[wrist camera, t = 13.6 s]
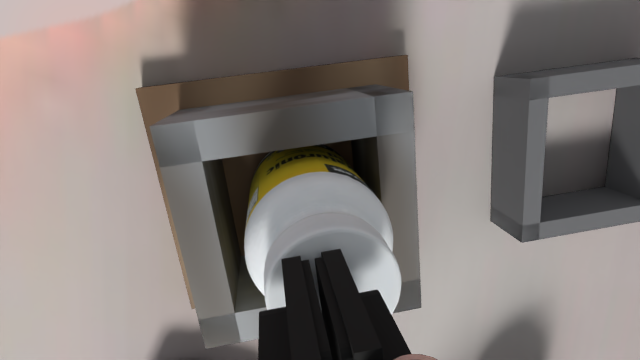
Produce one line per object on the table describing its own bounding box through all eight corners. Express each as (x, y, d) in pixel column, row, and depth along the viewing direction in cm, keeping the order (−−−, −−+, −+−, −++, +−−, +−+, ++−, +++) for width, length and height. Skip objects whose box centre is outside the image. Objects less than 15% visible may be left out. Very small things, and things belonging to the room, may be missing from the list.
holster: (636, 57, 22) (692, 57, 19) (617, 199, 24) (664, 217, 22) (494, 76, 21) (530, 78, 18) (490, 220, 24) (521, 242, 21)
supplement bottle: (361, 145, 20) (448, 217, 11) (342, 240, 21) (403, 376, 12) (256, 129, 19) (251, 194, 10) (243, 230, 20) (228, 370, 11)
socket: (400, 55, 20) (455, 52, 14) (410, 259, 24) (457, 322, 18) (142, 87, 19) (88, 98, 13) (194, 298, 22) (171, 379, 17)
